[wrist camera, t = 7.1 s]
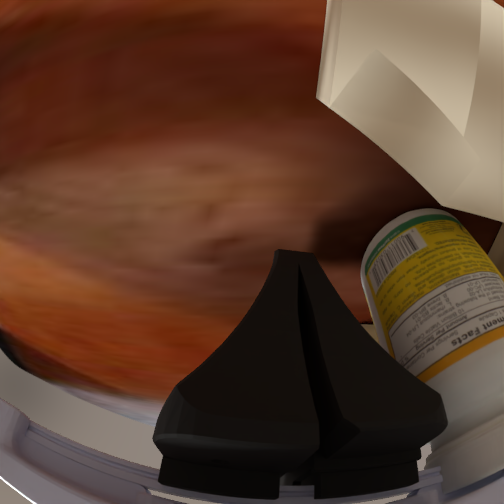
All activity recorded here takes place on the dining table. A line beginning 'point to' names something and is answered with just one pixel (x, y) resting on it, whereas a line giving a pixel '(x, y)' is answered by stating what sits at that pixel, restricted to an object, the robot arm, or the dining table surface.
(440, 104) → the jig block
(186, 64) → the dining table surface
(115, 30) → the dining table surface
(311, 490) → the robot arm
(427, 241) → the supplement bottle
